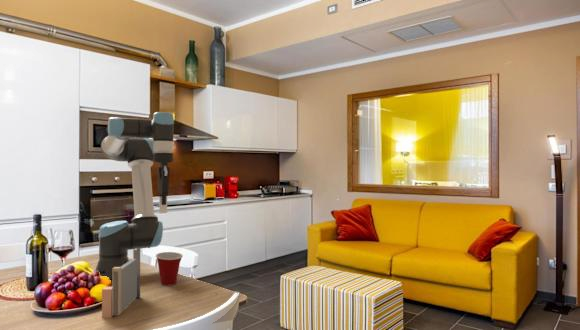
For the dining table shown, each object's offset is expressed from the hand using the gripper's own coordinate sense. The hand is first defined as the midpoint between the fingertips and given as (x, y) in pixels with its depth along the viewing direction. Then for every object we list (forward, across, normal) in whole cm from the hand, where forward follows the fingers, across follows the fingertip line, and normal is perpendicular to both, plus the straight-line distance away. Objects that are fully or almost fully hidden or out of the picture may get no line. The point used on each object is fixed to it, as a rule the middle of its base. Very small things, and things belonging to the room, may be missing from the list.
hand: (163, 212), depth 155 cm
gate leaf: (+29, -14, +14) cm, 35 cm away
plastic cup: (+31, +9, -4) cm, 32 cm away
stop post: (+30, -18, +20) cm, 41 cm away
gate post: (+30, -4, +10) cm, 32 cm away
